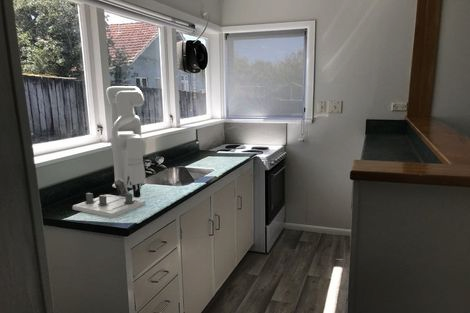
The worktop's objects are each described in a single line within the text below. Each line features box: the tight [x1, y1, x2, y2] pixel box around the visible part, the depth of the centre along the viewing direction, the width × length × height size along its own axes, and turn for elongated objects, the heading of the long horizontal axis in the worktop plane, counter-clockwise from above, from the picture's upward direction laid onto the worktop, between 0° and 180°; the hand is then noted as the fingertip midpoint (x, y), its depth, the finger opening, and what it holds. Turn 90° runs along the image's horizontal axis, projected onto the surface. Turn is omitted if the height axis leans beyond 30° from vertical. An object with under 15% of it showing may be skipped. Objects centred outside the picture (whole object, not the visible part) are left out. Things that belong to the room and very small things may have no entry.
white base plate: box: [72, 194, 146, 218], centre depth 181 cm, size 22×26×2 cm
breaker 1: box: [84, 192, 95, 204], centre depth 181 cm, size 3×4×4 cm
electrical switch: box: [113, 178, 129, 197], centre depth 200 cm, size 9×5×9 cm, turn 32°
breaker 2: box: [98, 194, 109, 206], centre depth 177 cm, size 3×4×4 cm
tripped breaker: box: [124, 192, 134, 204], centre depth 180 cm, size 3×4×4 cm
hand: (137, 197), depth 185 cm, fingers closed
